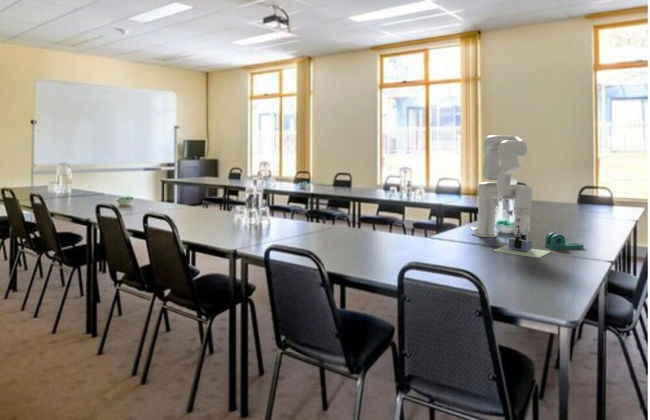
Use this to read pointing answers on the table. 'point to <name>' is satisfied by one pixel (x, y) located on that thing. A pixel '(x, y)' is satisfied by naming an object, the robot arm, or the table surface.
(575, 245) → the bracket
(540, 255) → the mat
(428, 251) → the table surface
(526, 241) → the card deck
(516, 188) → the robot arm
